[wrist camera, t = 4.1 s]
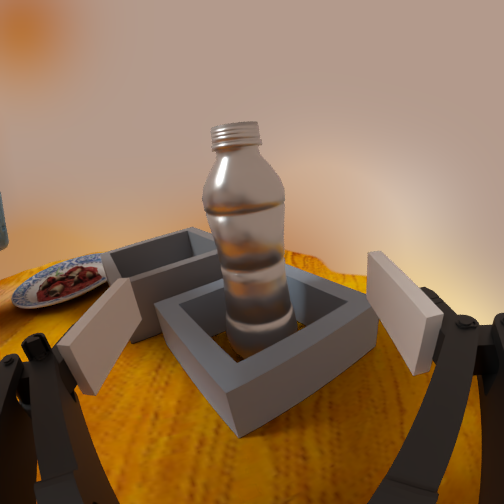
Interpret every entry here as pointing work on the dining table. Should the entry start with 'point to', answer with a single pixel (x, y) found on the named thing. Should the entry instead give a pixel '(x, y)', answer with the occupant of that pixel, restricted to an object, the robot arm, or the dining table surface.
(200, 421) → the dining table surface
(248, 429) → the bottle holder
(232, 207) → the plastic bottle
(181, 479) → the dining table surface
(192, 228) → the bin
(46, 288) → the ceramic plate
